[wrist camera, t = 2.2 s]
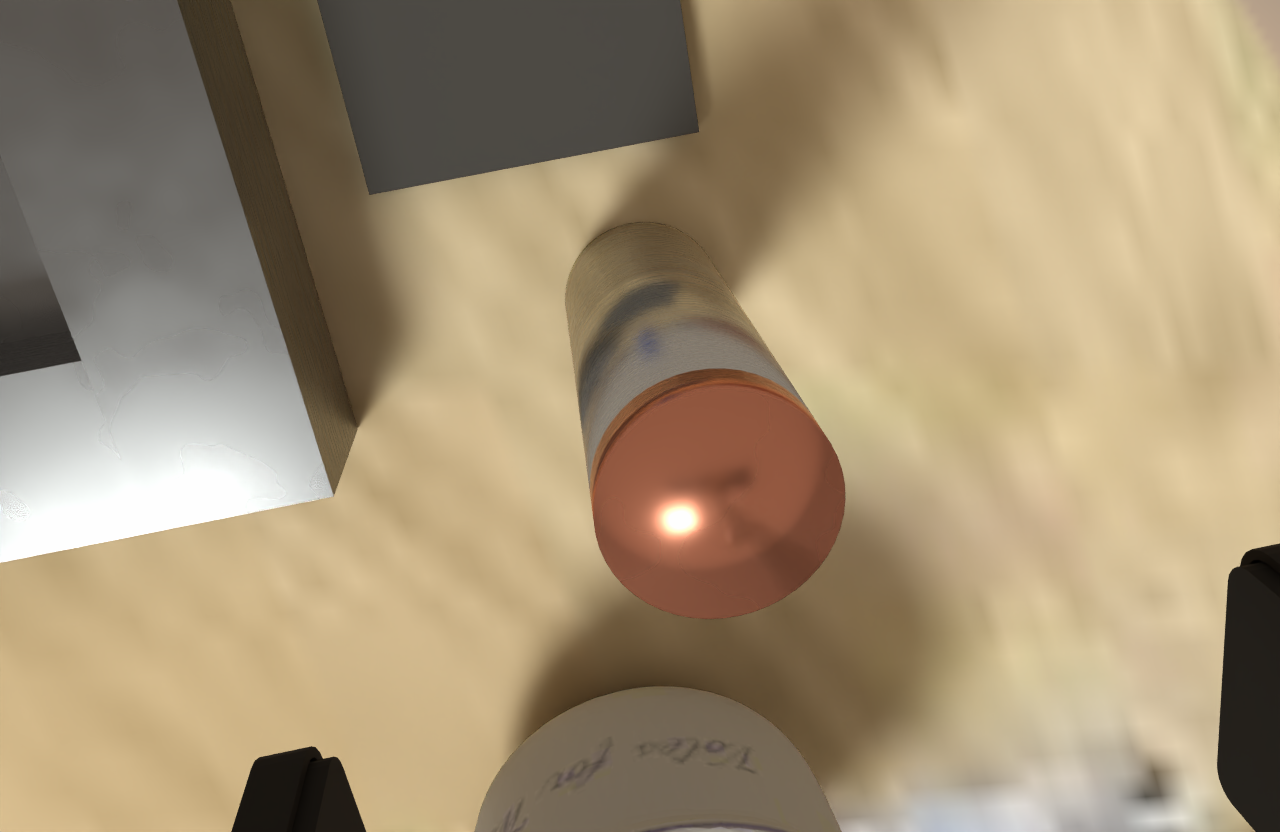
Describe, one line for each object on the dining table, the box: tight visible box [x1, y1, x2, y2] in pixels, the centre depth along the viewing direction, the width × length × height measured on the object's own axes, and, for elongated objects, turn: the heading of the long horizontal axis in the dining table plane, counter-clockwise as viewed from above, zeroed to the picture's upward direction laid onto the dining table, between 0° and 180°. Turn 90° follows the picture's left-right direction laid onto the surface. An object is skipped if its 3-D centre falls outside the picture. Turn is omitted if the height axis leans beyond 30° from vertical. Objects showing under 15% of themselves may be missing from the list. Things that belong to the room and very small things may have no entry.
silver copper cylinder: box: [565, 222, 845, 619], centre depth 23 cm, size 4×4×12 cm
